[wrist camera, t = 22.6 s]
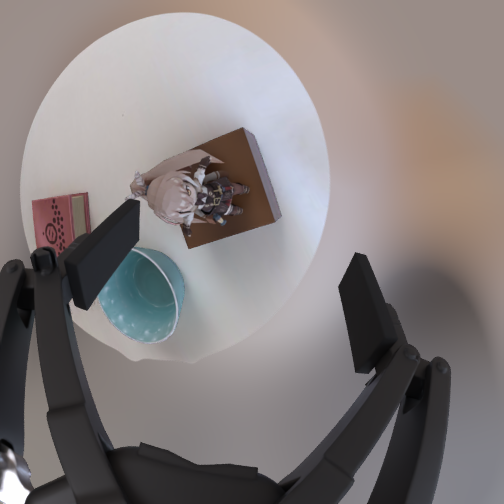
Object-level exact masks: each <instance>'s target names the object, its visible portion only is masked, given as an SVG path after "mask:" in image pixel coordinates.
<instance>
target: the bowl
mask: <svg viewBox="0 0 504 504" xmlns="http://www.w3.org/2000/svg"><path fill="white" fill-rule="evenodd" d="M97 298H98V301H99V304H100V306H101V308H102V310H103V312H104V314H105V315H106V317H107V318H108V320H109V321H110V322H111V323H112V325H113V326H114V327H115V328H116V329H117V330H119V331H120V332H121V333H122V334H124V335H125V336H127V337H128V338H130V339H132V340H134V341H137V342H140V343H145V344H155V343H159V342H162V341H164V340H166V339H167V338H168V337H169V336H170V335H171V334H172V333H173V331H174V330H175V328H176V325H177V322H178V319H179V315H180V311H181V307H182V302H183V298H184V281H183V278H182V275H181V273H180V271H179V269H178V267H177V266H176V264H175V263H174V262H173V261H172V260H171V259H170V258H169V257H168V256H166V255H165V254H163V253H161V252H159V251H156V250H152V249H146V248H139V247H133V248H132V250H131V251H130V252H129V254H128V255H127V256H126V257H125V259H124V260H123V261H122V263H121V264H120V265H119V267H118V268H117V269H116V271H115V272H114V273H113V275H112V276H111V278H110V279H109V280H108V282H107V283H106V284H105V286H104V287H103V289H102V290H101V292H100V293H99V294H98V296H97Z"/></svg>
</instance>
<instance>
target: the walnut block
mask: <svg viewBox="0 0 504 504" xmlns="http://www.w3.org/2000/svg"><path fill="white" fill-rule="evenodd" d="M198 149H201V150H203V151H204V152H206V153H208V154H210V155H211V156H213V157H215V158H217V159H218V160H220V161H222V162H224V163H214V162H211V164H209V165H208V166H207V167H206V171H205V172H204V174H205V176H206V175H208V174H210V173H212V172H216V171H226V172H228V173H229V178H228V180H229V181H230V182H231V183H241V184H243V185H245V186H248V187H249V192H248V193H243V194H241V195H233V196H232V201H231V204H234V205H236V206H238V207H240V208H242V209H243V211H242V214H241V215H235V216H230V215H223V216H222V217H221V218H222V219H223V220H226V223H225V225H223V226H221V223H219V222H218V221H216V224H213V223H209V222H208V221H207V220H206V219H205V218H202V217H200V216H199V215H197V214H196V213H195V214H194V216H193V218H196V219H199V220H202V221H205V222H206V223H191V226H190V229H191V231H192V234H191V233H190V235H191V236H186V235H185V234H184V233H183V235H184V238H185V241H186V243H187V246H188V249H191V248H194V247H197V246H200V245H203V244H207V243H210V242H213V241H216V240H219V239H222V238H226V237H229V236H232V235H235V234H238V233H242V232H245V231H248V230H251V229H254V228H258V227H261V226H264V225H268V224H271V223H274V222H276V221H277V220H278V219H279V218H280V217H281V216H282V215H281V211H280V208H279V205H278V202H277V199H276V196H275V193H274V190H273V187H272V184H271V181H270V178H269V175H268V173H267V170H266V167H265V164H264V161H263V158H262V155H261V152H260V150H259V147H258V144H257V141H256V138H255V136H254V135H253V134H252V133H250V132H249V131H248V130H246V129H245V128H243V127H242V128H240V129H237V130H235V131H232V132H230V133H227V134H225V135H222V136H220V137H218V138H215V139H213V140H211V141H208V142H206V143H204V144H202V145H199V146H197V147H195V148H193V149H190V150H198ZM188 151H189V150H188ZM199 164H200V162H198V163H195V164H192V165H191V168H192V170H178V171H187V172H190V173H183V174H185V175H186V176H188V177H190V178H191V179H192V180H193V178H194V173H195V172H197V170H198V166H199ZM216 180H217V179H216ZM213 181H215V180H212V181H209V182H207V183H211V182H213ZM187 183H188V182H187ZM205 184H206V183H205ZM180 226H181V229H183V223H182V224H180ZM182 232H183V231H182Z"/></svg>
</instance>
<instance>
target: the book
mask: <svg viewBox="0 0 504 504" xmlns="http://www.w3.org/2000/svg"><path fill="white" fill-rule="evenodd" d="M32 210H33V221H34V230H35V238H36V245H37V249H38V248H40V247H43V246H49V247H52V248H54V249H55V251H56V255H57V257H58V256H59V255H60V254H61V253H62V252H63V251H64V250H65V249H66V248H68V246H69V245H70V244H71V243H72V242H73V241H74V240H75V239H76V238H77V237H78V236H80V235H82V234H84V233H89V234H91V231H90V220H89V208H88V192H86V193H79V194H71V195H64V196H57V197H51V198H45V199H39V200H33V201H32Z"/></svg>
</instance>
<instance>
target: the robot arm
mask: <svg viewBox="0 0 504 504" xmlns="http://www.w3.org/2000/svg"><path fill="white" fill-rule="evenodd" d="M139 217H140V201H139V200H134V199H128V200H127V201H125V202H124V203H123V204H122V205H121V206H120V207H119V208H118V209H116V210H115V211H114V212H113V213H112V214H111V215H110V216H109V217H108V218H106V219H105V220H104V221H103V222H102V223H101V224H100V225H99V226H98V227H97V228H96V229H95V230H94V231H93V232H92V233H91V234H89V233H84V234H82V235H80V236H78V237H77V238H76V239H75V240H74V241H73V242H72V243H71V244H70V245H69V246H68V248H66V249H65V250H64V251H63V252H62V253H61V254H60V255H59V256H58V257H57V255H56V251H55V249H54V248H52V247H49V246H43V247H40V248H38V249H36V250H34V252H33V253H32V254H31V257H30V258H31V262H32V266H33V269H26V268H25V267H24V264H23V262H22V261H21V260H18V259H15V260H11V261H9V262H7V263H6V264H5V265H4V266H3V268H2V270H1V272H0V501H1V502H3V503H4V504H338V503H339V501H340V500H341V499H342V498H343V497H344V496H345V494H346V493H347V492H348V491H349V489H350V488H351V486H352V485H353V483H354V478H353V477H354V475H355V473H356V472H357V470H358V469H359V468H360V466H361V465H362V463H363V462H364V461H365V459H366V458H367V456H368V455H369V453H370V452H371V450H372V449H373V447H374V446H375V444H376V443H377V441H378V440H379V438H380V437H381V435H382V433H383V431H384V430H385V429H386V427H387V425H388V423H389V422H390V420H391V418H392V417H393V415H394V413H395V411H396V409H397V408H398V406H399V404H400V406H399V410H398V414H397V419H396V422H395V426H394V429H393V433H392V437H391V440H390V443H389V447H388V450H387V453H386V456H385V459H384V462H383V465H382V468H381V470H380V473H379V476H378V479H377V481H376V484H375V486H374V489H373V491H372V493H371V496H370V498H369V501H368V503H367V504H432V501H433V498H434V494H435V490H436V486H437V482H438V478H439V473H440V469H441V464H442V459H443V454H444V448H445V441H446V434H447V425H448V416H449V404H450V386H451V369H450V366H449V364H448V363H447V361H446V360H444V359H443V358H441V357H435V358H434V359H433V360H432V361H431V362H429V361H426V360H424V359H422V358H420V354H419V352H418V350H417V349H416V348H415V347H414V346H412V345H410V344H408V343H407V340H406V337H405V334H404V331H403V329H402V326H401V325H400V324H401V323H400V321H399V320H398V315H397V313H396V311H395V309H394V308H393V307H392V305H391V304H388V303H385V300H384V297H383V295H382V292H381V290H380V287H379V285H378V282H377V280H376V277H375V275H374V273H373V270H372V268H371V266H370V263H369V261H368V258H367V256H366V255H364V254H360V253H356V252H355V254H354V256H353V258H352V260H351V262H350V264H349V266H348V268H347V270H346V273H345V274H344V276H343V278H342V281H341V282H340V284H339V286H338V288H339V293H340V297H341V302H342V306H343V311H344V315H345V320H346V325H347V330H348V335H349V340H350V345H351V351H352V356H353V362H354V367H355V372H356V373H364V374H369V373H370V371H371V370H372V369H373V368H374V367H375V370H376V374H375V375H374V376H373V377H372V378H371V379H370V380H369V381H368V382H367V383H366V384H365V385H366V387H365V388H364V390H363V391H362V393H361V394H360V395H359V397H358V398H357V399H356V401H355V402H354V403H353V405H352V406H351V407H350V408H349V410H348V411H347V412H346V414H345V415H344V416H343V417H342V418H341V420H340V421H339V422H338V423H337V425H336V426H335V427H334V428H333V429H332V430H331V432H330V433H329V434H328V435H327V436H326V437H325V438H324V440H323V441H322V442H321V443H320V444H319V445H318V446H317V447H316V448H315V450H314V451H313V452H312V453H311V454H310V455H309V456H308V457H307V458H306V459H305V460H304V461H303V462H302V463H301V464H300V465H299V466H298V467H297V468H296V469H295V470H294V471H293V472H291V473H290V474H289V475H287V476H286V477H285V478H284V479H282V480H281V481H280V482H279V483H278V484H277V483H276V482H275V481H273V480H271V479H270V478H268V477H267V476H265V475H262V474H260V473H257V472H258V468H257V467H248V466H241V465H234V464H215V465H197V464H194V463H192V462H190V461H188V460H186V459H184V458H182V457H180V456H178V455H176V454H174V453H172V452H170V451H168V450H165V449H161V448H158V447H154V446H151V445H148V444H145V443H142V442H141V443H140V446H139V447H136V446H128V447H121V448H117V449H114V447H113V445H112V443H111V441H110V439H109V437H108V435H107V433H106V431H105V429H104V427H103V425H102V422H101V419H100V417H99V414H98V412H97V409H96V406H95V403H94V400H93V397H92V395H91V391H90V388H89V385H88V382H87V378H86V375H85V372H84V368H83V365H82V361H81V357H80V353H79V349H78V345H77V341H76V336H75V332H74V327H73V322H72V316H71V311H70V306H69V302H70V300H71V299H72V298H73V301H74V305H75V306H76V307H78V308H81V309H84V310H86V311H87V310H88V309H89V308H90V306H91V305H92V303H93V302H94V300H95V299H96V297H97V296H98V294H99V293H100V292H101V290H102V289H103V287H104V286H105V284H106V283H107V282H108V280H109V279H110V278H111V276H112V275H113V273H114V272H115V271H116V269H117V268H118V267H119V265H120V264H121V263H122V261H123V260H124V259H125V257H126V256H127V255H128V254H129V252H130V251H131V250H132V248H133V247H134V246H135V245H136V243H137V242H138V241H139ZM34 318H35V320H36V333H37V344H38V351H39V359H40V366H41V372H42V377H43V383H44V388H45V393H46V397H47V402H48V406H49V411H48V412H47V421H48V425H49V428H50V432H51V436H52V439H53V442H54V445H55V448H56V451H57V454H58V457H59V460H60V463H61V465H62V468H63V471H64V473H65V475H63V476H61V477H59V478H57V479H55V480H53V481H51V482H48V483H46V484H44V485H42V486H40V487H37V488H35V489H34V488H33V486H32V484H31V482H30V477H31V472H30V469H29V467H28V464H27V462H26V461H25V459H24V458H23V451H24V398H25V382H26V381H25V380H26V370H27V361H28V353H29V346H30V340H31V334H32V328H33V322H34Z"/></svg>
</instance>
